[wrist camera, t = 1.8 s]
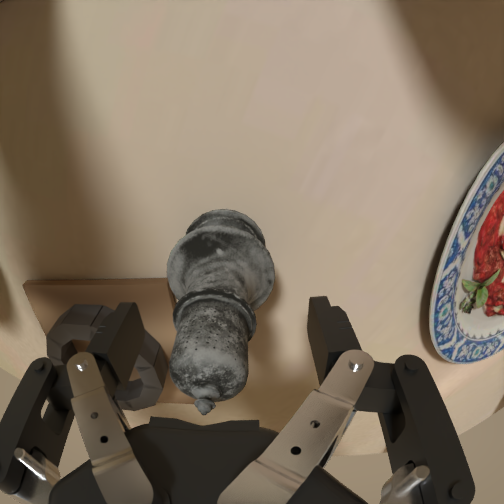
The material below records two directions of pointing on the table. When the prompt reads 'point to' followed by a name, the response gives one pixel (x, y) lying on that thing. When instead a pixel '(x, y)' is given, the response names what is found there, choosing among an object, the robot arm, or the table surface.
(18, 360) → the table surface
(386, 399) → the robot arm
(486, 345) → the ceramic plate
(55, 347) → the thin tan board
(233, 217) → the chess piece
